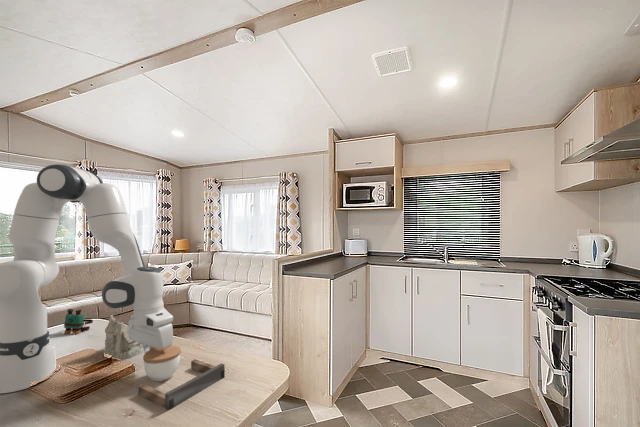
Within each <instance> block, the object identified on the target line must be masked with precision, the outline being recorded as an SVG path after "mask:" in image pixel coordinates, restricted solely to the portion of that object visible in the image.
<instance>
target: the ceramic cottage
mask: <svg viewBox="0 0 640 427" xmlns="http://www.w3.org/2000/svg"><path fill="white" fill-rule="evenodd" d="M108 318H109V320H108V324H107V326H106V328H105V329H104V332H105V340H104V349H103V353H105V354H109V355H112V356H113V357H115V358H119V359H123V360H122V361H124V360H129V359H132V358H135V357H136V356H138V355H140V354H141V353H143V352H144V349H143V347H142V343H139V342H136V341H133V340H130V339H129V337H128V326H129V321H127V325H126V324H125V323H124V322H122V321H121V322H120V321H117V320H116V318H115V317H114V314H111V315H109V317H108Z"/></svg>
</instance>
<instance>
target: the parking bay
mask: <svg viewBox="0 0 640 427" xmlns="http://www.w3.org/2000/svg"><path fill="white" fill-rule="evenodd" d="M190 367H191V370H194V371H197V372H200V373H201V374H199V375H197V376H195V377H193V378H191V379H190V380H189V379H188V381H186V382H184V383H182V384H180V385H178V386H177V387H175V388H173V389H171V390H169V391H166V392H162V391H160V390H159V389H156V388H154V387H151V386H149V385H148V384H145V383H142V384H140V385H138V386H137V388H138V392H137V393H138V396H140V397H142V398H144V399H146V400H148V401H150V402H151V403H153V404H156V405H158V406H159V407H162V408H163V409H166V410H168V411H171V409H173V408H175V407H177V406H179V405H180V404H182V403H183V402H185V401H187V400H188V399H190V398H192V397H193V396H195V395H197V394H199V393H201V392H202V391H204V390H205V389H208V388H209V387H211V386H212V385H213V384H215V383H217V382H218V381H220V380H222V379H224V378H225V377H226V376H225V368H226V367H225V364H224V363H219V364H218V365H213V364H210V363H207V362H204V361H201V360H199V359H195V358H194V359H193V360H191V361H190Z"/></svg>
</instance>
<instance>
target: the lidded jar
mask: <svg viewBox="0 0 640 427" xmlns="http://www.w3.org/2000/svg"><path fill="white" fill-rule="evenodd" d="M181 349H182V348H181V347H180V346H178V345H171V346H170V347H168V348H166V349H163V350H160V349H157V348H155V349H152V350H150V351H148V352H147V353H145V352H144V355H143V367H144V371H145V374H146V375H147V377H148V378H150V379H151V380H152V382H153V381H154V382H163V381H166V380H169V379H170V378H172V377H173V375H174V374H175V373H176V371H177V370H178V368H179V365H180V362H181V353H182V352H181V351H182V350H181Z"/></svg>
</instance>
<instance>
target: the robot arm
mask: <svg viewBox="0 0 640 427" xmlns="http://www.w3.org/2000/svg"><path fill="white" fill-rule="evenodd" d="M69 202H70V203H74V204H75V203H81V204H82V205H83V206H84V209H85V212H86V219H87V224H88V228H89V231H90V233H91V235H92V237H93V238H94V239H96V240H97V241H98V242H101V243H103V244H106V245H109V246H111V247H112V248H114V249H115V250H116V251H117V252H118V253H119V256H120V259H121V262H122V266H123V268H124V272H125V275H124V276H121V277H118V278H115V279H113V280H110V281H109V282H107V283H106V284H105V285H104V286H103V288H102V291H101V299H102V302H103V303H104V304H105V305H106V306H107V307H109V308H110V309H121V308H125V307H129V306H132V307H133V313H132V314H131V315H130V317H131V318H130V319H129V321H128V322H129V326H128V337H129V339H130V340H133V341H136V342H139V343H142V347H143V349H144V350H143V352H144V354H145V353H147V352H148V351H150V350H152V349H155V348H157V349H160V350H163V349H166V348H168V347H170V346H173V343H174V342H173V340H174V329H173V328H174V327H173V324H172V322H174V321H173V320H174V316H173V315H172V313H170V312H169V311H168V310H167V309H166V308H165V306H164V300H163V295H164V279H163V278H164V277H163V273H162V270H160V269H159V268H157V267H154V266H145V263H144V260H143V256H142V253H141V249H140V246H139V243H138V240H137V237H136V235H135V234H134V232H133V230H132V227H131V225H130V221H129V218H128V213H127V212H128V211H127V208H126V204H125V201H124V198H123V196H122V194H121V192H120V190H119V188H118V187H117V186H116V185H113V184H110V183H106V182H104V181H103V180H102V179H101V177H99V175H97V174H96V173H93V172H92V171H87V170H85V169H83V168H80V167H74V166H70V165H67V164H51V165H47V166H45V167H43V168H41V170H39V172H38V173H37V175H36V182H32V183H29V184H26V186H24V188H23V189H22V191H21V193H20V194H19V197H18V200H17V203H16V204H15V205H16V206H15V208H14V211H13V216H12V220H11V225H10V229H9V233H8V240H9V242H10V243H11V245H12V247H13V255H14V256H13V259H12V260H10V261H5V262H1V263H0V394H7V393H14V392H18V391H22V390H25V389H29V388H30V387H29V386H30V383H31V382H34V381H38V380H40V379H43V378H45V377H47V376H49V375H50V374H51V373H52V372H53V371H54V370H55V369H56V365H58V366H59V367H60V365H61V364H57V359H56V348H55V346H53V344H50V331H49V330H48V308H47V306H45V305H44V304H43V302H42V300H41V297H40V295H39V289H41V288H44V287H46V286H48V285H49V284H50V283H52V282H53V281H54V280H55V279H56V278H57V277H58V275H59V274H60V266H59V264H58V262H57V261H56V249H55V248H56V247H55V244H56V238H57V232H58V227H59V223H60V218H61V213H62V209H63V208H64V205H66V204H67V203H69Z"/></svg>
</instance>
